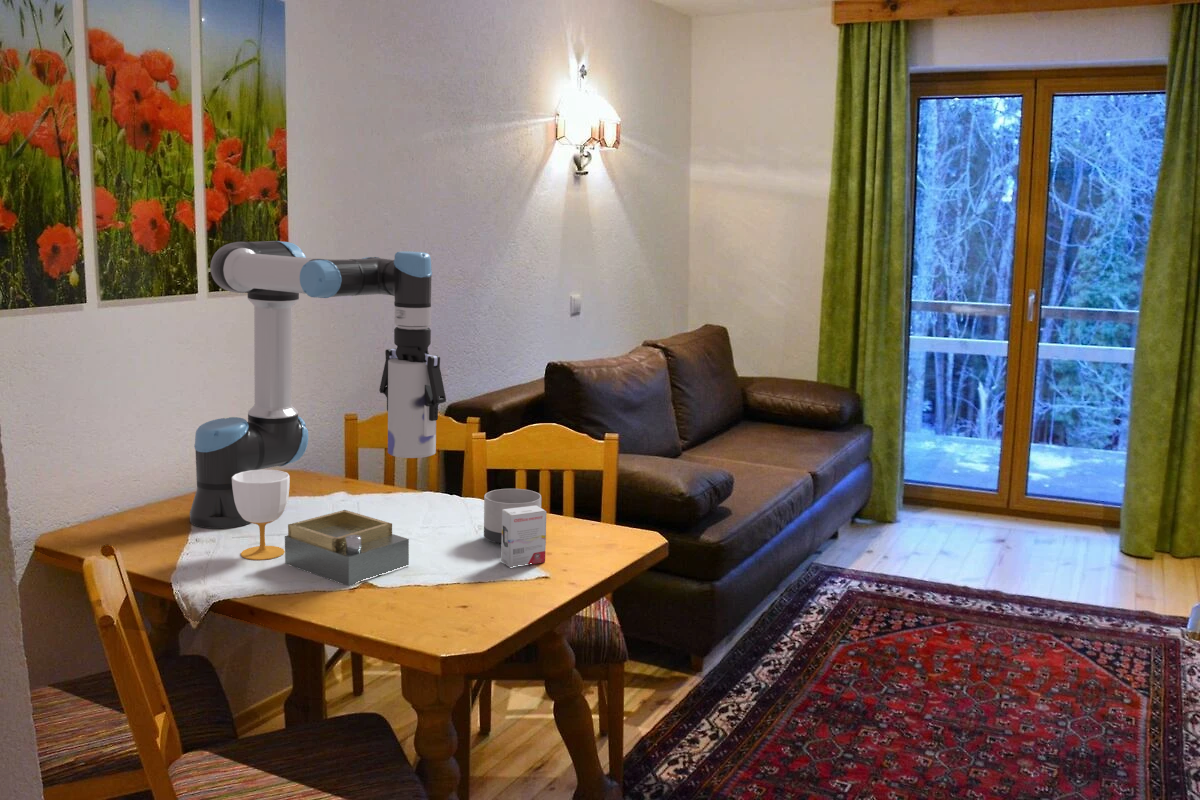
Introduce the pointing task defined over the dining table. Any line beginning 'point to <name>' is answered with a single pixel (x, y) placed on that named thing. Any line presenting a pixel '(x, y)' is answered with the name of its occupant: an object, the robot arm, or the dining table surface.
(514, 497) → the planter
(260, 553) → the cup
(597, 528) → the dining table surface
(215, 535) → the dining table surface
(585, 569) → the dining table surface
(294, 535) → the grey boxy piece
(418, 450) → the container
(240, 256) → the robot arm
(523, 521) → the ink box
